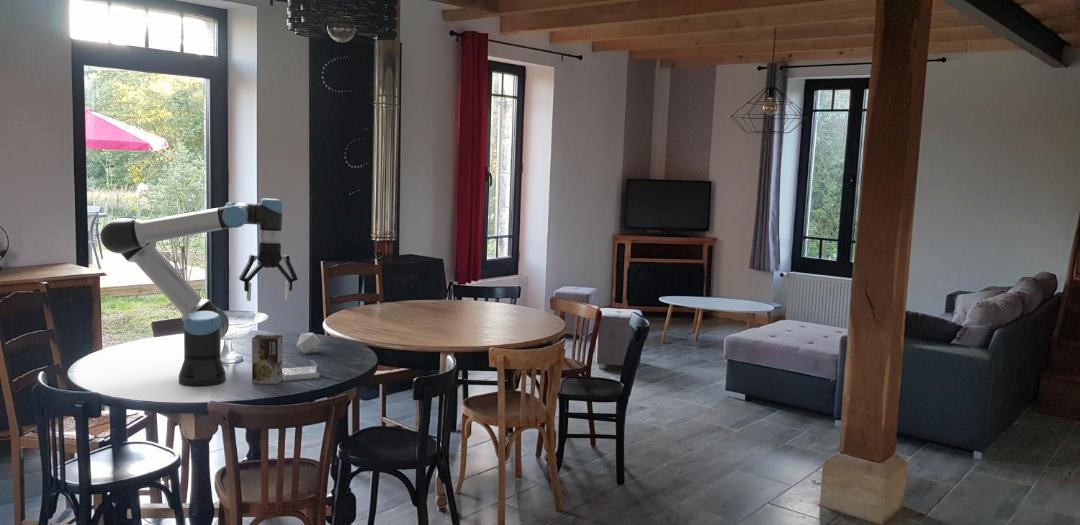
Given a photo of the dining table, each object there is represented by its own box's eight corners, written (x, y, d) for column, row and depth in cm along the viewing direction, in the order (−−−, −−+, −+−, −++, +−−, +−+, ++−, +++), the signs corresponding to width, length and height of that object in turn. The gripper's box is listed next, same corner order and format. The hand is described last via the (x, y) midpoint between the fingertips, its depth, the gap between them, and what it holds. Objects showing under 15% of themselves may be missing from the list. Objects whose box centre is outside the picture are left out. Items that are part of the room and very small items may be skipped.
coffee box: (282, 379, 298) (283, 334, 296) (277, 384, 291) (278, 338, 289) (256, 378, 297) (257, 333, 295) (251, 383, 291) (251, 337, 289)
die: (314, 350, 347) (299, 332, 345) (327, 343, 342) (313, 324, 340) (303, 361, 340) (288, 342, 338) (317, 354, 335) (302, 335, 333)
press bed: (284, 380, 296) (285, 368, 296) (278, 374, 305) (279, 362, 304) (319, 378, 302) (319, 366, 301) (312, 371, 311) (312, 359, 310)
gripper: (236, 242, 293) (234, 302, 295) (307, 243, 306) (305, 301, 309) (231, 240, 299) (229, 298, 302) (301, 241, 313) (299, 297, 315)
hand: (267, 300), depth 305 cm, fingers open, 13 cm apart
